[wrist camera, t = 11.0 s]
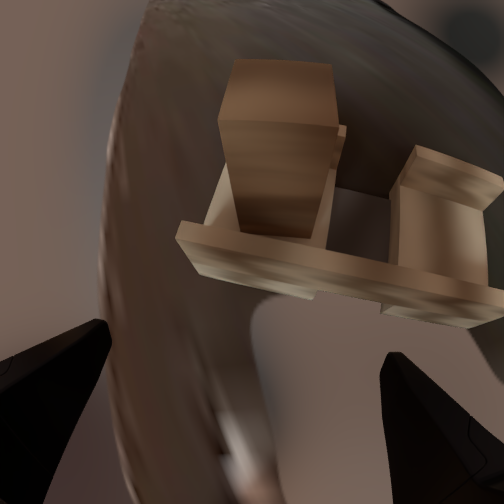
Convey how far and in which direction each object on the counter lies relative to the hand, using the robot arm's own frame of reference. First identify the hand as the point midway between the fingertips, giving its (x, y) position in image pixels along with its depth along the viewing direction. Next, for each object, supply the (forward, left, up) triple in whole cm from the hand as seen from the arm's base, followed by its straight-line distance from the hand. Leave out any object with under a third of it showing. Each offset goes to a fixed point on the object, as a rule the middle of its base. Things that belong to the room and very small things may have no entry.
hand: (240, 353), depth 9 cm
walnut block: (+11, -2, -11) cm, 16 cm away
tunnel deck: (+9, -9, -14) cm, 19 cm away
